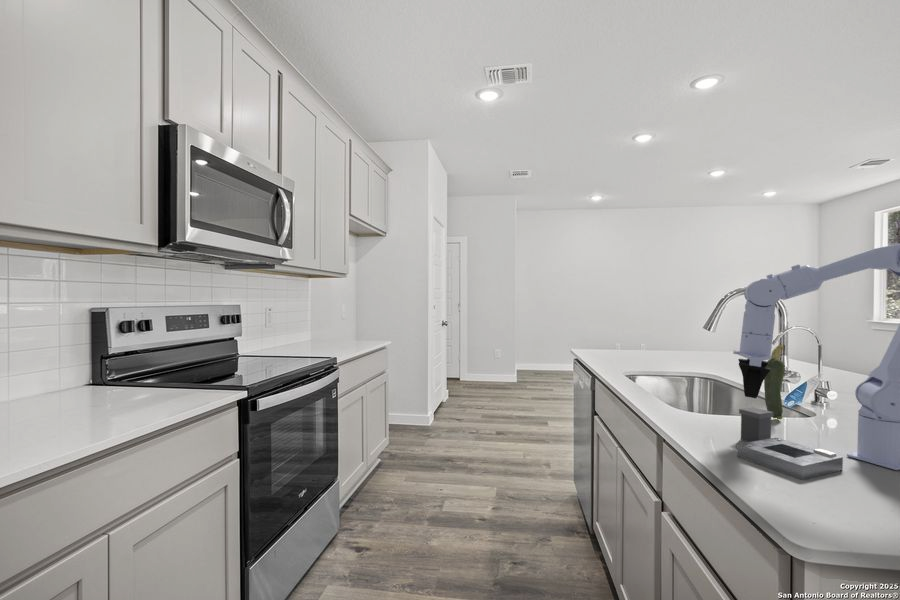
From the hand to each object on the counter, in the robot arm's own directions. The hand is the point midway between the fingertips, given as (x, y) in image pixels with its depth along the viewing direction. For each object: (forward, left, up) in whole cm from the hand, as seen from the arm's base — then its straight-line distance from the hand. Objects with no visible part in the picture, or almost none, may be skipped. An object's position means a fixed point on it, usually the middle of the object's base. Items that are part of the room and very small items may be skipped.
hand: (750, 393), depth 98 cm
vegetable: (-24, -10, -11) cm, 29 cm away
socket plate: (+5, +11, -11) cm, 16 cm away
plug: (-2, 0, -11) cm, 11 cm away
